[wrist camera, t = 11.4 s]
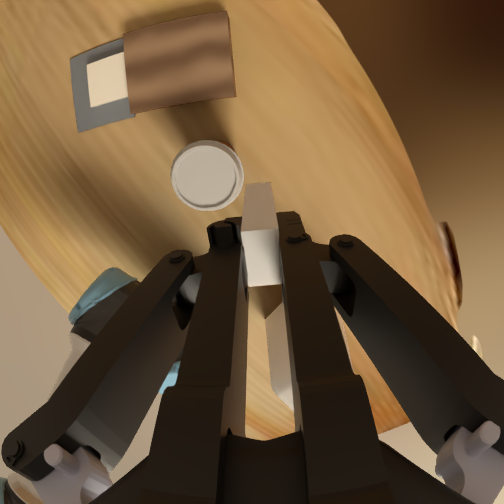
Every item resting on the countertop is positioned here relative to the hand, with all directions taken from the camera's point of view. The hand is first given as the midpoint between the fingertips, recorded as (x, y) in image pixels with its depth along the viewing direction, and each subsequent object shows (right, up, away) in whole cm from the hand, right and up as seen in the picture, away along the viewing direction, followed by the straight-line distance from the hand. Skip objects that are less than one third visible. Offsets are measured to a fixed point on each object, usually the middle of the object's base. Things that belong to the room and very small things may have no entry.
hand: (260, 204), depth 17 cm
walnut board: (-11, +26, +18) cm, 34 cm away
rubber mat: (-26, +26, +19) cm, 41 cm away
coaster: (-24, +26, +19) cm, 40 cm away
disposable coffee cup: (-6, +12, +27) cm, 30 cm away
